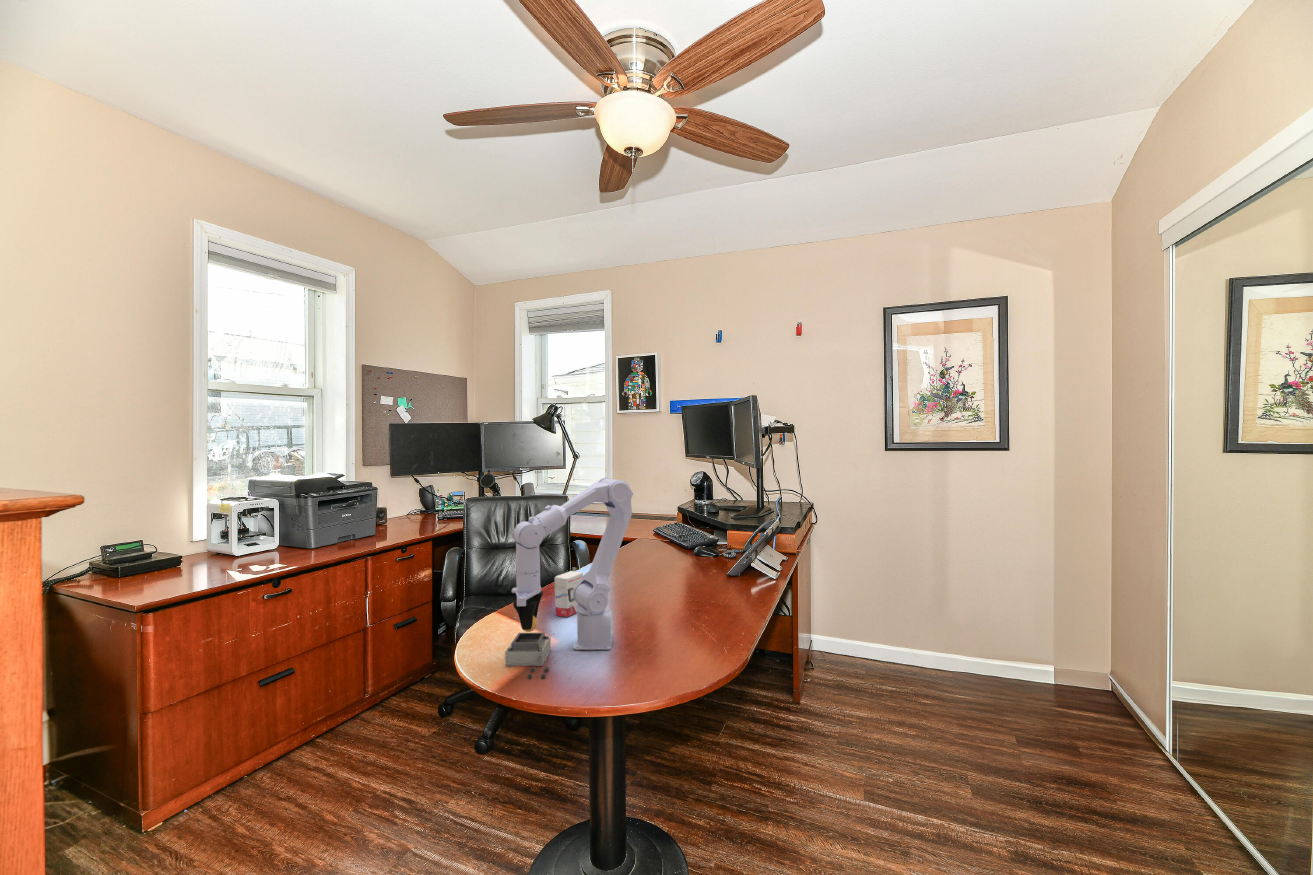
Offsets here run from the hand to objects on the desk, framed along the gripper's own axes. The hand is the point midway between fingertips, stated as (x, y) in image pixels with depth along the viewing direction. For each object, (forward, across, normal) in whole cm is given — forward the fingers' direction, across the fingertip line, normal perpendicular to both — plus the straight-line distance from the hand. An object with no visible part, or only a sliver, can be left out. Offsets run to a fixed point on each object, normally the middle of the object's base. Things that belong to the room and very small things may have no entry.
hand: (529, 625), depth 131 cm
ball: (+1, 0, 0) cm, 1 cm away
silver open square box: (+8, -1, 0) cm, 8 cm away
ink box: (+9, -33, +4) cm, 34 cm away
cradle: (+8, +8, +4) cm, 12 cm away
